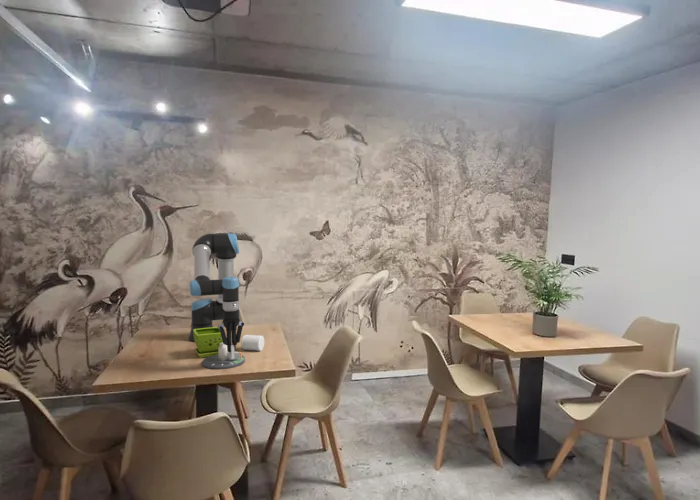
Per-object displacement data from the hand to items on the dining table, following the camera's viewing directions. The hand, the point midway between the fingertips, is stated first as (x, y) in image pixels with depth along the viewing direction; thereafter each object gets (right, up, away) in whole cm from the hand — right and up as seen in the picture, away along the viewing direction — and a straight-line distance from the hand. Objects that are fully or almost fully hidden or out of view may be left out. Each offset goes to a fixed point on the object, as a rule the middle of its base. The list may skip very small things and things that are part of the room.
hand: (231, 358), depth 212 cm
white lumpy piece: (-2, -2, +5) cm, 6 cm away
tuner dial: (-5, -4, +6) cm, 9 cm away
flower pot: (-17, -3, +19) cm, 26 cm away
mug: (+5, -2, +29) cm, 30 cm away
